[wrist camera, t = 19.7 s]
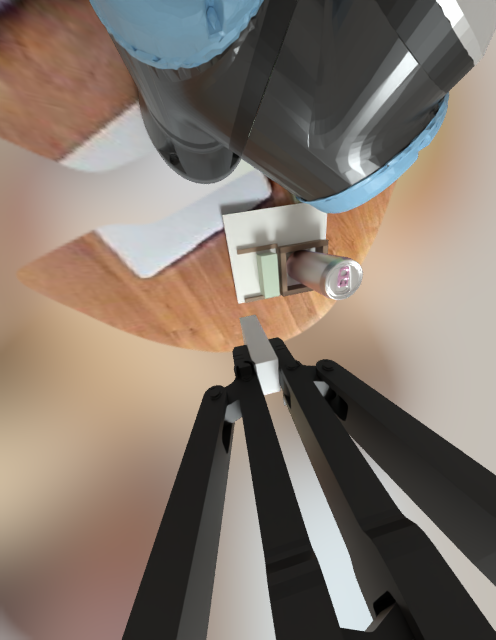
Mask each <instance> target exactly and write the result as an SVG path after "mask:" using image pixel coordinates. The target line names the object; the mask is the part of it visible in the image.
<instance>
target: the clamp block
mask: <svg viewBox="0 0 496 640" xmlns="http://www.w3.org/2000/svg"><path fill="white" fill-rule="evenodd" d="M256 258H257V266H258V275H259V283H260V292H261V294H262V295H263V296H264V297H265V298H270V297H275V296H280V292H279V276H278V261H277V254H276V253H273V252H267V253H262V254H256Z"/></svg>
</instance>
